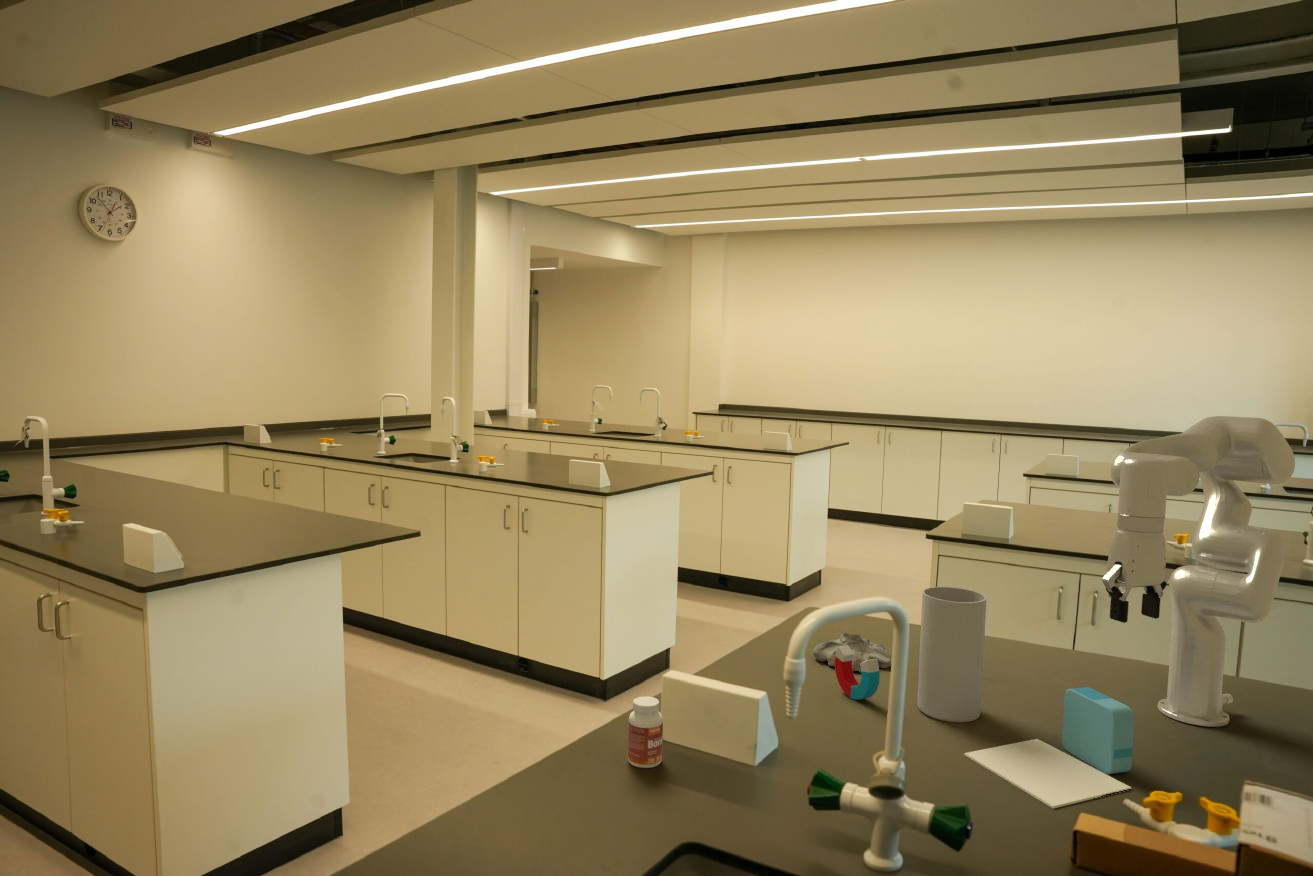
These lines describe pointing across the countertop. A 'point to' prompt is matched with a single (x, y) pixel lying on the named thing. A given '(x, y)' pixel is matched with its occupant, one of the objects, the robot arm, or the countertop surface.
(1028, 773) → the mat
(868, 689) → the magnet
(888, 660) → the fossil
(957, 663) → the cylinder vase
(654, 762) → the pill bottle
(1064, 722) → the data package
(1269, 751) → the countertop surface
